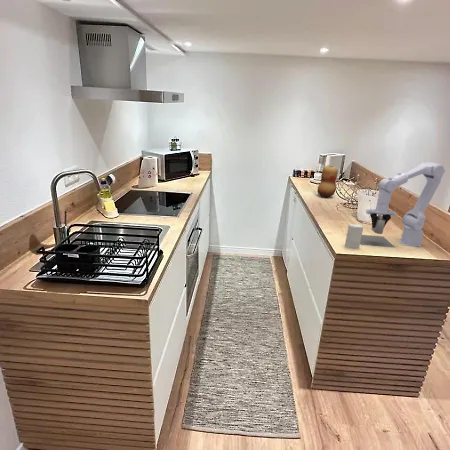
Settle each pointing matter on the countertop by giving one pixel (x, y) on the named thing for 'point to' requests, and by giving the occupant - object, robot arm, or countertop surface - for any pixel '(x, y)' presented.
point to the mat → (375, 241)
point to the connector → (379, 225)
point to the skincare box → (354, 236)
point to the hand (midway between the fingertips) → (377, 227)
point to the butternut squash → (328, 181)
